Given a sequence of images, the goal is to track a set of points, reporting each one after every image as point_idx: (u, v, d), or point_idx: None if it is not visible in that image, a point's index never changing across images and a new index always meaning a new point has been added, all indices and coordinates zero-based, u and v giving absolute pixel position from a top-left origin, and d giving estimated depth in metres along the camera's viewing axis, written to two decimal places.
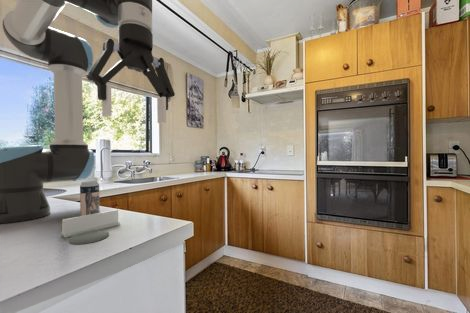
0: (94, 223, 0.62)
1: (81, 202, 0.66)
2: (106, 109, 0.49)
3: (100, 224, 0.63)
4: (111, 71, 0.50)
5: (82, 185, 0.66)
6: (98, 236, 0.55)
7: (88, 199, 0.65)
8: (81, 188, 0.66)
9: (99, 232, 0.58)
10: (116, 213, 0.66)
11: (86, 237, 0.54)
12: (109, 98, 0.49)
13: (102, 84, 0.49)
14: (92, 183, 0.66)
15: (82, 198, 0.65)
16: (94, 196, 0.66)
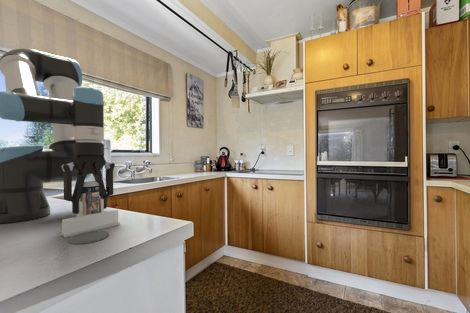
0: (94, 223, 0.62)
1: None
2: None
3: (100, 224, 0.63)
4: (78, 190, 0.64)
5: None
6: (98, 236, 0.55)
7: (88, 199, 0.65)
8: None
9: (99, 232, 0.58)
10: (116, 213, 0.66)
11: (86, 237, 0.54)
12: (81, 212, 0.65)
13: (77, 202, 0.64)
14: (92, 183, 0.66)
15: (82, 198, 0.65)
16: (94, 196, 0.66)
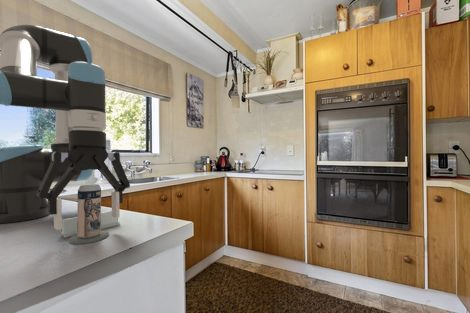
0: None
1: (79, 210, 0.53)
2: (56, 223, 0.50)
3: None
4: (61, 184, 0.50)
5: (80, 189, 0.53)
6: (98, 236, 0.55)
7: (87, 206, 0.53)
8: (79, 193, 0.53)
9: None
10: None
11: None
12: (59, 213, 0.50)
13: (52, 200, 0.49)
14: (93, 187, 0.54)
15: (80, 205, 0.53)
16: (95, 203, 0.54)
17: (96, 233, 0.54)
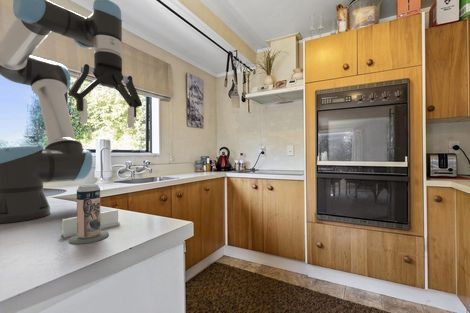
0: None
1: (78, 211, 0.53)
2: (83, 118, 0.64)
3: None
4: (87, 89, 0.65)
5: (79, 190, 0.53)
6: (98, 236, 0.55)
7: (86, 206, 0.53)
8: (78, 193, 0.53)
9: None
10: (116, 213, 0.66)
11: None
12: (85, 109, 0.64)
13: (80, 99, 0.64)
14: (91, 187, 0.54)
15: (79, 206, 0.53)
16: (94, 203, 0.54)
17: (96, 233, 0.54)
